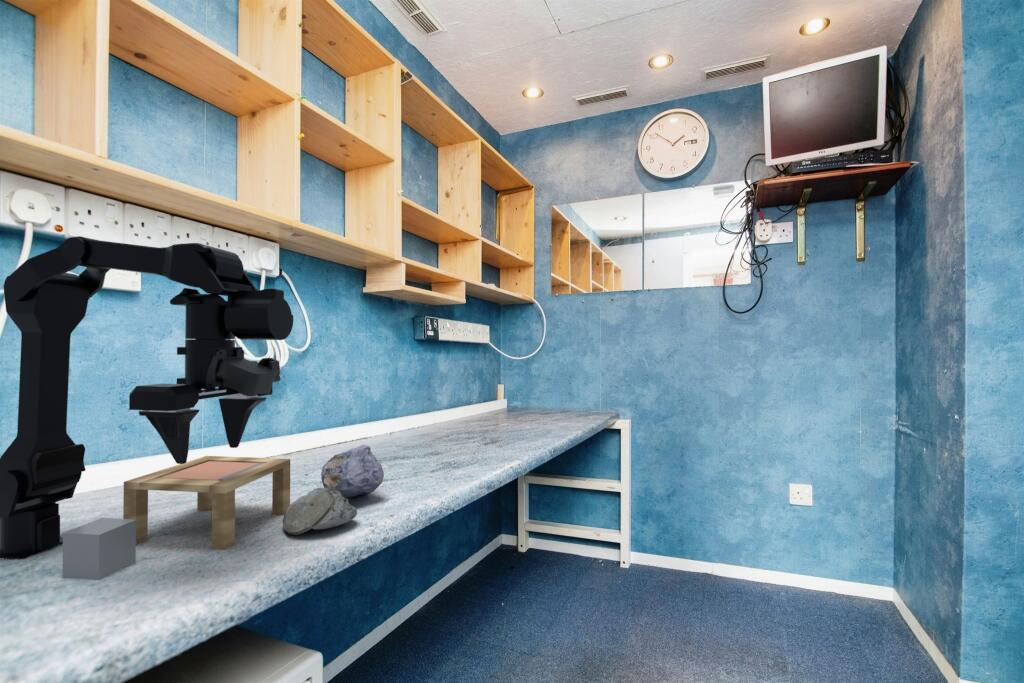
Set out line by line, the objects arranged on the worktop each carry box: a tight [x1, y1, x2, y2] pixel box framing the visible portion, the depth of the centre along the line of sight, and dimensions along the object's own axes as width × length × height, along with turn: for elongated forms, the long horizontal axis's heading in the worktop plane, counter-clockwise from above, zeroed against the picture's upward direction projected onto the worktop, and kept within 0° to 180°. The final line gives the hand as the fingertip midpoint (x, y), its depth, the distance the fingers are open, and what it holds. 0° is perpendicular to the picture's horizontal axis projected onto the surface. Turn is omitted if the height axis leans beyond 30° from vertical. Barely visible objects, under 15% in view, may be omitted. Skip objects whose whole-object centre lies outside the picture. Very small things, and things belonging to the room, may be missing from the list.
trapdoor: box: [160, 461, 264, 481], centre depth 76 cm, size 10×10×1 cm
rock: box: [320, 444, 385, 498], centre depth 88 cm, size 11×10×10 cm
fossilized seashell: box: [282, 486, 358, 536], centre depth 77 cm, size 10×9×10 cm
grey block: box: [61, 517, 137, 581], centre depth 61 cm, size 5×5×6 cm
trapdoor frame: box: [122, 455, 291, 551], centre depth 76 cm, size 16×16×9 cm
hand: (209, 454), depth 64 cm, fingers open, 9 cm apart
